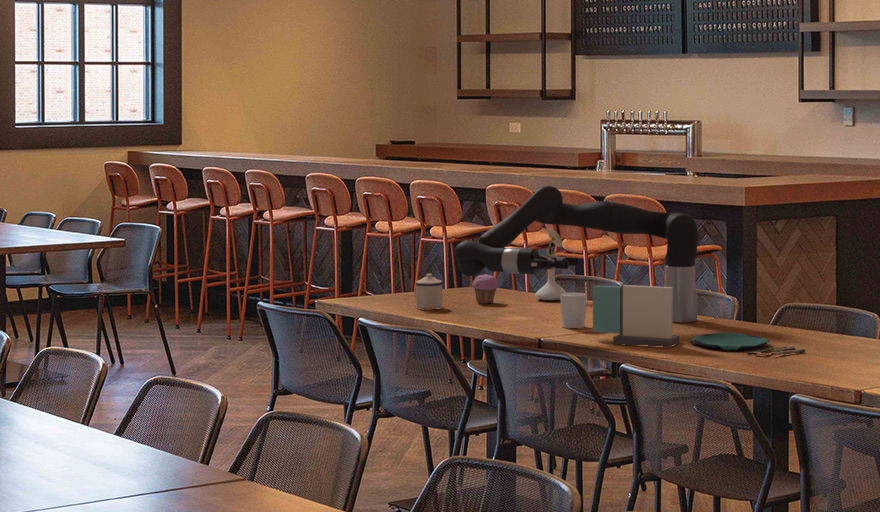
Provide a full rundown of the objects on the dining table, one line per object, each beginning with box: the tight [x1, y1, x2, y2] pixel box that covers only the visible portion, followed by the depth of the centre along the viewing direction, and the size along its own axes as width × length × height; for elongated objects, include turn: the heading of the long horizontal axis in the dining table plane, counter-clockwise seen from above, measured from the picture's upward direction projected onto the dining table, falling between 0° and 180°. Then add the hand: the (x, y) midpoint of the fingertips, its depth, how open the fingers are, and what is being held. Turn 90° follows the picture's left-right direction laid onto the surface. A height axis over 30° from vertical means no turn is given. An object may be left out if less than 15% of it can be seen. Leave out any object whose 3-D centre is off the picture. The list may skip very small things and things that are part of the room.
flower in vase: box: [534, 227, 568, 302], centre depth 432 cm, size 13×11×25 cm
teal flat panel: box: [592, 284, 621, 335], centre depth 350 cm, size 8×2×13 cm, turn 64°
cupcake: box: [471, 273, 499, 305], centre depth 427 cm, size 9×9×10 cm
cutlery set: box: [691, 332, 806, 355], centre depth 337 cm, size 20×30×2 cm, turn 32°
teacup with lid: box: [414, 273, 443, 309], centre depth 417 cm, size 12×9×12 cm
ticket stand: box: [612, 284, 680, 347], centre depth 345 cm, size 16×10×16 cm, turn 64°
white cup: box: [559, 292, 587, 329], centre depth 375 cm, size 8×8×10 cm
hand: (573, 263), depth 353 cm, fingers open, 8 cm apart
